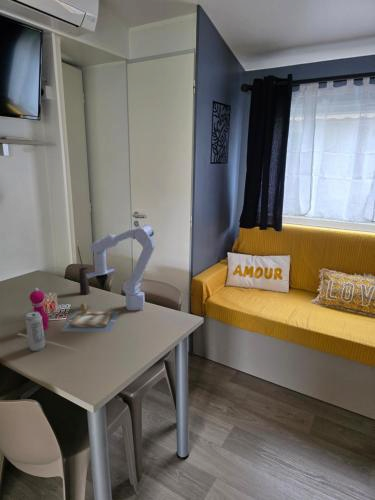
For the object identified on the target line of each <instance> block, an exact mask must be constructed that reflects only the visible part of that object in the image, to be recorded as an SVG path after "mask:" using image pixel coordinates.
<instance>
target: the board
mask: <svg viewBox="0 0 375 500" xmlns="http://www.w3.org/2000/svg"><path fill="white" fill-rule="evenodd" d="M78 312H81V310H76V311H75V312H74V313H73V314H72V316H71V317H70V318H69V319H68V320H67V322H66V323H65V325H64V326H63V327H62V329H61V330H60V332H78V333H79V332H81V333H83V332H87V333H89V332H91V333H93V332H94V333H97V332H100V333H106V332H107V333H111V332H112V329H113V327H114V325H115V323H116V320H117V318H118V316H119V314H120V311H119V310H118V311H117V310H115V311H113V310H111V311H109V310H108V311H107V310H105V311H103V310H97V311H95V310H87V312H112V315H111V317H110V319H109V321H108V324H107V326H106V327H71V325H70V323H71V322H72V321H73V319H74V318H75V316H76V315H77V313H78Z"/></svg>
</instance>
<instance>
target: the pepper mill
mask: <svg viewBox="0 0 375 500" xmlns="http://www.w3.org/2000/svg"><path fill="white" fill-rule="evenodd" d="M45 296H46V295H45V293H44V292H43V291H42V290H39V288H38V287H35V288H34V289H33V291H32V292H31V293H30V294H29V300H30V302H31V306H32V309H33V312H39V313H40V315H41V316H42V323H43V330H44V331H46V330H47V329H48V328H49V321H50V318H49V315H48V314H47V312H46V311H45V309H44V304H45V301H44V299H45Z"/></svg>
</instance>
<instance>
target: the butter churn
mask: <svg viewBox="0 0 375 500" xmlns="http://www.w3.org/2000/svg"><path fill="white" fill-rule="evenodd" d="M77 252H78V255H79V256H78V257H79V260H80V265H81V267H80V268H79V269H78V271H79V273H78V274H79V279H78V280H79V294H80V295H84V296H85V295H89V294H90V293H91V291H90V285H89V283H90V282H89V278H87V275H86V274H88V268H89V266H88V267H84V266H83V262H82V257H81V253H80V248H79V246H78V245H77Z"/></svg>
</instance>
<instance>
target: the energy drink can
mask: <svg viewBox="0 0 375 500" xmlns="http://www.w3.org/2000/svg"><path fill="white" fill-rule="evenodd" d="M25 316H26V317H25V319H24V320H25V327H26V337H27V343H28V348H29V350H30V351H32V352H39V351H41V350H43V349H44V348H45V345H46V339H45V333H44V332H45V330H43V323H42V316H41V315H40V313H39V312H34V311H31V312H28V313H27V314H26V315H25Z"/></svg>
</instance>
